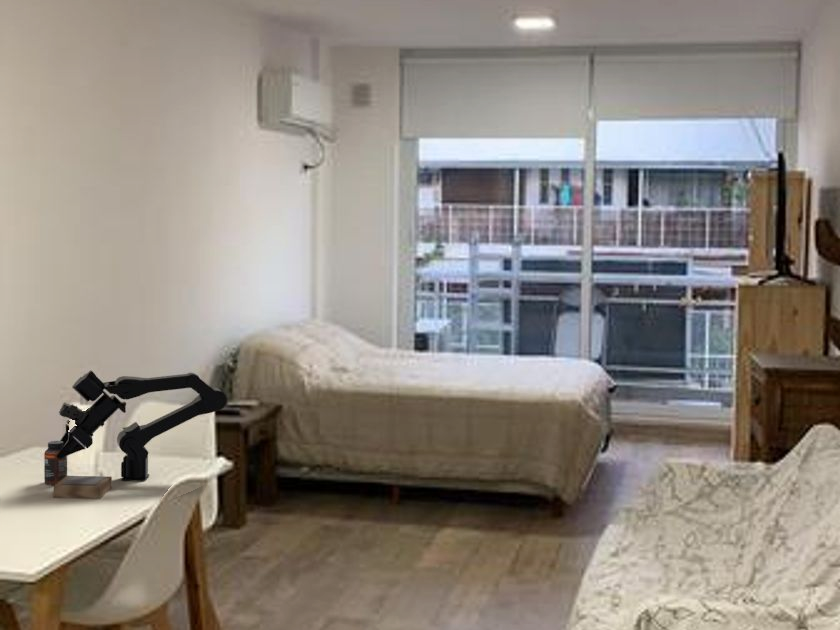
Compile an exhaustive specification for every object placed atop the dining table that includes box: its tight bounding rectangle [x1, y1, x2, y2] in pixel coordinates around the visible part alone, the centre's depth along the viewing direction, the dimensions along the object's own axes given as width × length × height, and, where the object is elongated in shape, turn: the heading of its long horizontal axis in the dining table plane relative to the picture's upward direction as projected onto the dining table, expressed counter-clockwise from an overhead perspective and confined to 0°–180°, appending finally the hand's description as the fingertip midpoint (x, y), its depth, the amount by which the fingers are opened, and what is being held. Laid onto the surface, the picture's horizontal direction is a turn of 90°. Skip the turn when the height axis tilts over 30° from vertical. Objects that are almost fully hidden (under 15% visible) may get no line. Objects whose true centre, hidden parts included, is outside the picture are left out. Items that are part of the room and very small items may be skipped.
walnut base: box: [52, 475, 113, 499], centre depth 295 cm, size 12×12×3 cm
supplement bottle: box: [43, 440, 68, 486], centre depth 304 cm, size 6×6×11 cm
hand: (56, 454), depth 304 cm, fingers open, 9 cm apart
